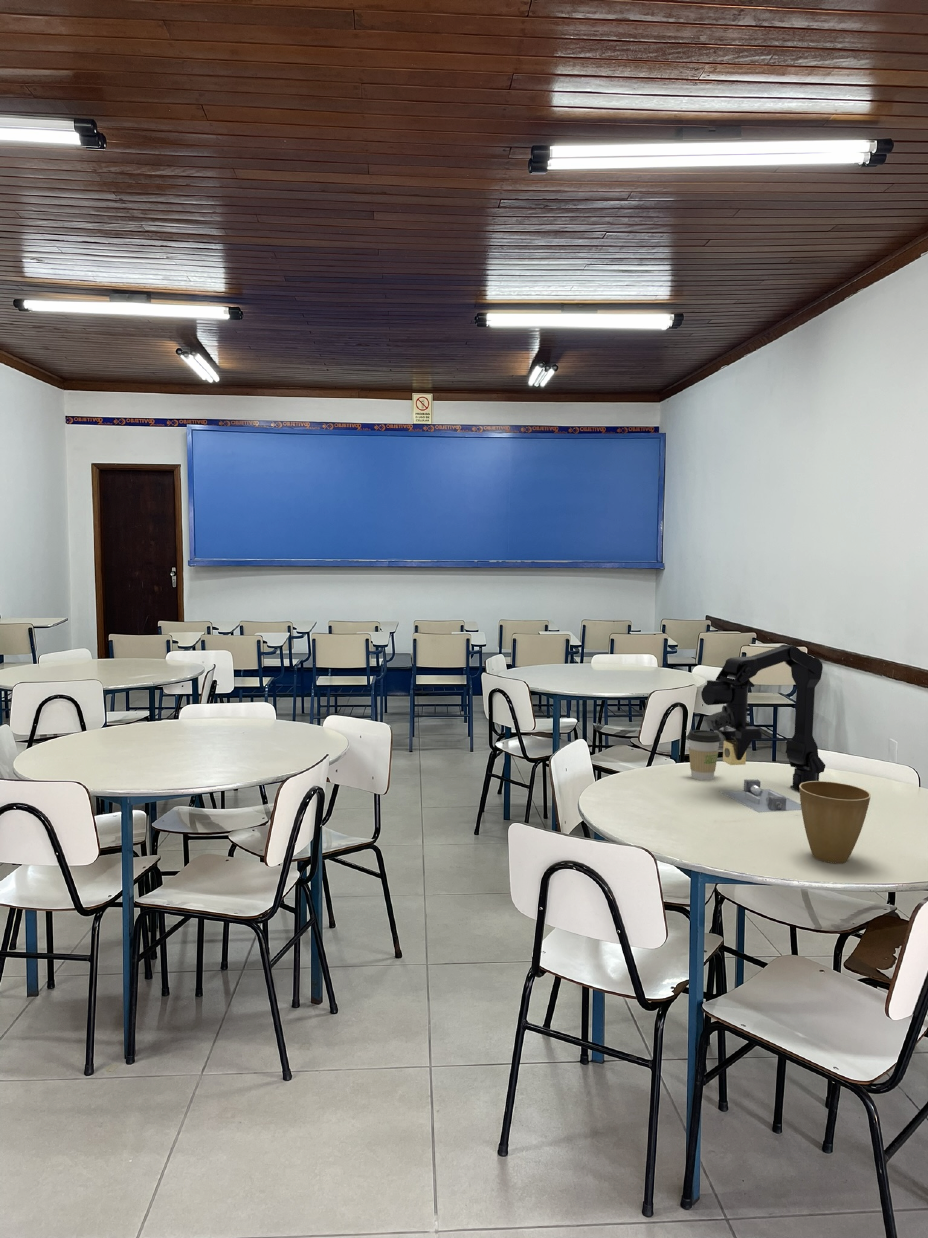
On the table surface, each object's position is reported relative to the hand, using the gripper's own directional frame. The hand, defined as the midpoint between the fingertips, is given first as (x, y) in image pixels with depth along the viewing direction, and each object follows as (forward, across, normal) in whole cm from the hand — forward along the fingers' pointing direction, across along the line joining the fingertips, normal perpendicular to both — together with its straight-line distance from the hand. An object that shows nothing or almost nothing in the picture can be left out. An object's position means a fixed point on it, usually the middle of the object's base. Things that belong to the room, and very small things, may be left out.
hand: (734, 757), depth 239 cm
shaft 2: (+11, +13, +5) cm, 17 cm away
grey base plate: (+12, +6, +6) cm, 15 cm away
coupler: (+1, 0, 0) cm, 1 cm away
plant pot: (+12, +47, -1) cm, 49 cm away
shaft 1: (+11, -1, +7) cm, 13 cm away
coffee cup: (+12, -19, 0) cm, 22 cm away
